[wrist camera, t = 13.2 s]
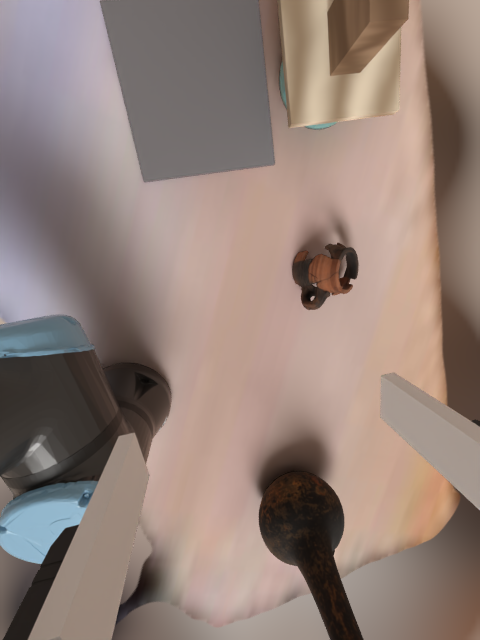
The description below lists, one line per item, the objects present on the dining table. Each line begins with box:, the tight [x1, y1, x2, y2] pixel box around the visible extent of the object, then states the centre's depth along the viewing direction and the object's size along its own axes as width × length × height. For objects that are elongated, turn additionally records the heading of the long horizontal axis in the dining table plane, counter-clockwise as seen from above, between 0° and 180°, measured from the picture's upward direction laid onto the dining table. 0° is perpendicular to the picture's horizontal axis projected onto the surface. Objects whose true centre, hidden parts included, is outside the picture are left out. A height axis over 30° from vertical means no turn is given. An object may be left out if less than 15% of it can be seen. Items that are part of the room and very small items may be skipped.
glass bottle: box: [259, 472, 363, 640], centre depth 44 cm, size 18×18×28 cm
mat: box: [100, 0, 275, 182], centre depth 34 cm, size 20×20×1 cm
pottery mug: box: [293, 243, 358, 310], centre depth 42 cm, size 12×10×8 cm
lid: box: [277, 0, 409, 128], centre depth 26 cm, size 15×15×8 cm
